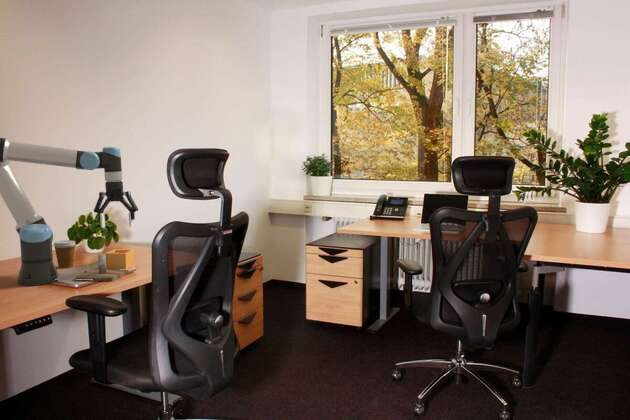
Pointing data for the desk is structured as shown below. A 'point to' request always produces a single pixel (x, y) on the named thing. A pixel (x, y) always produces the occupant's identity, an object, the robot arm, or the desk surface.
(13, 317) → the desk surface
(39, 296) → the desk surface
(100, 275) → the keeper
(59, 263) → the disposable coffee cup
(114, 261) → the open cardboard box
